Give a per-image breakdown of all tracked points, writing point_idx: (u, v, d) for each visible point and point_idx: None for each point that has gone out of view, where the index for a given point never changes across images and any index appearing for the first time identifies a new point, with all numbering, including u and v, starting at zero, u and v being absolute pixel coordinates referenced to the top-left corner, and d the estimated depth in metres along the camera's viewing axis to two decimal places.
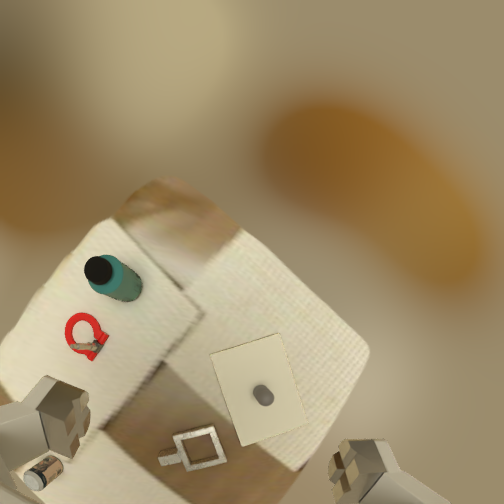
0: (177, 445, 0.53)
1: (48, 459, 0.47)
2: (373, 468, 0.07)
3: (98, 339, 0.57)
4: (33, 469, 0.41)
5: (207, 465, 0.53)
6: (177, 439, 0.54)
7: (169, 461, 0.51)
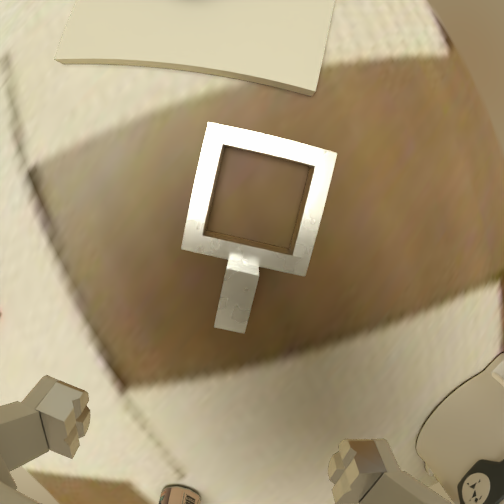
0: (213, 252, 0.21)
1: (160, 503, 0.27)
2: (374, 468, 0.07)
3: None
4: None
5: (317, 211, 0.21)
6: (196, 241, 0.21)
7: (241, 303, 0.20)
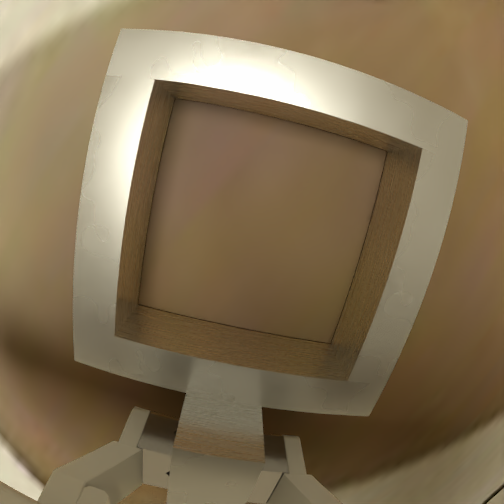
0: (148, 375, 0.08)
1: None
2: (274, 467, 0.07)
3: None
4: None
5: (421, 273, 0.07)
6: (103, 347, 0.07)
7: (219, 501, 0.06)
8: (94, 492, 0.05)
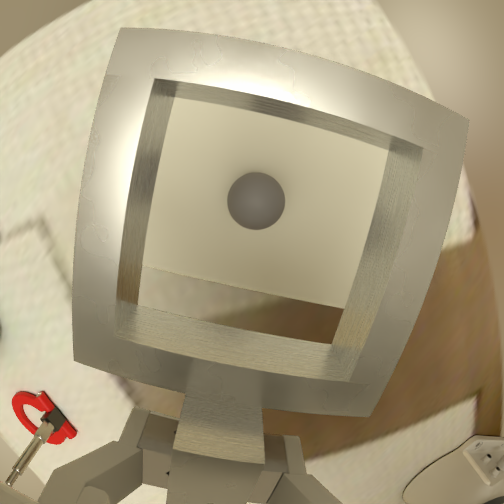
0: (147, 375, 0.08)
1: None
2: (274, 467, 0.07)
3: (44, 409, 0.28)
4: None
5: (422, 273, 0.07)
6: (102, 348, 0.07)
7: (219, 502, 0.06)
8: (95, 492, 0.05)
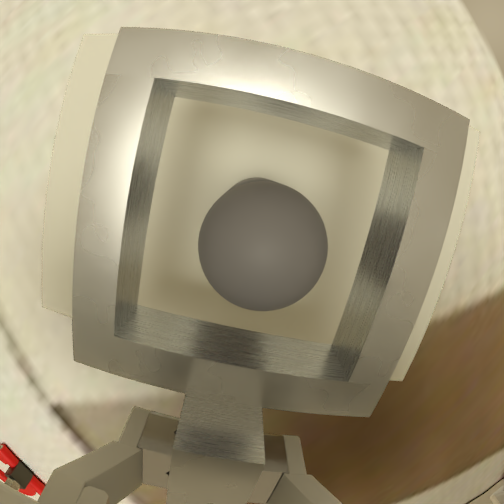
0: (147, 375, 0.08)
1: None
2: (274, 467, 0.07)
3: (8, 463, 0.19)
4: None
5: (423, 273, 0.07)
6: (102, 347, 0.07)
7: (219, 502, 0.06)
8: (94, 492, 0.05)
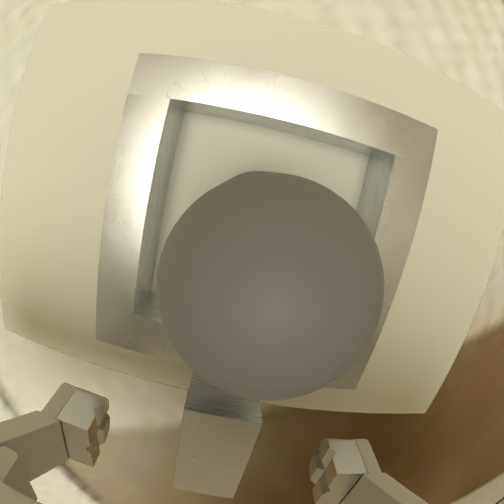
0: (161, 350, 0.09)
1: None
2: (353, 469, 0.07)
3: None
4: None
5: (396, 261, 0.08)
6: (122, 326, 0.09)
7: (223, 463, 0.08)
8: (7, 451, 0.05)
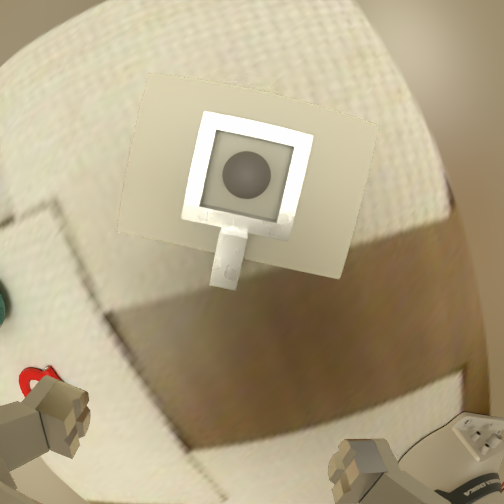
0: (209, 220, 0.25)
1: None
2: (374, 469, 0.07)
3: None
4: None
5: (297, 185, 0.24)
6: (194, 211, 0.24)
7: (232, 263, 0.23)
8: None
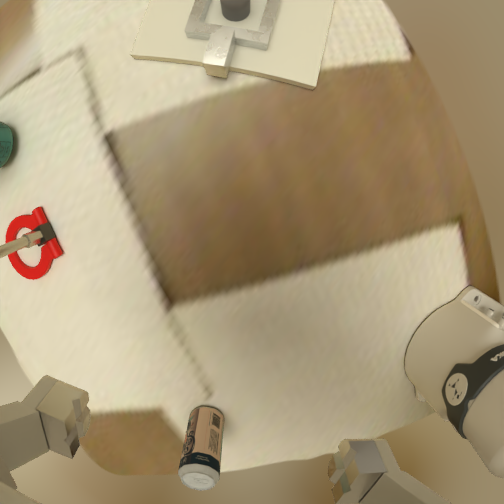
0: (205, 30, 0.26)
1: (190, 422, 0.38)
2: (373, 468, 0.07)
3: (37, 225, 0.33)
4: (181, 461, 0.31)
5: (273, 8, 0.26)
6: (194, 25, 0.26)
7: (222, 46, 0.25)
8: None
